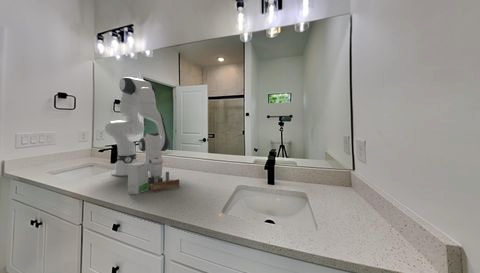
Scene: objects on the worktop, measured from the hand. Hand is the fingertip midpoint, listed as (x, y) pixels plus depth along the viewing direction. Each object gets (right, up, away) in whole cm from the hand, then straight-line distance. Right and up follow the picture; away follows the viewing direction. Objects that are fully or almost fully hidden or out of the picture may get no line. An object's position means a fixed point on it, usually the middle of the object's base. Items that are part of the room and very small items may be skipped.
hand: (154, 180), depth 111 cm
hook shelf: (+9, -2, -6) cm, 11 cm away
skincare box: (-2, -3, -13) cm, 14 cm away
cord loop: (0, -2, 0) cm, 2 cm away
